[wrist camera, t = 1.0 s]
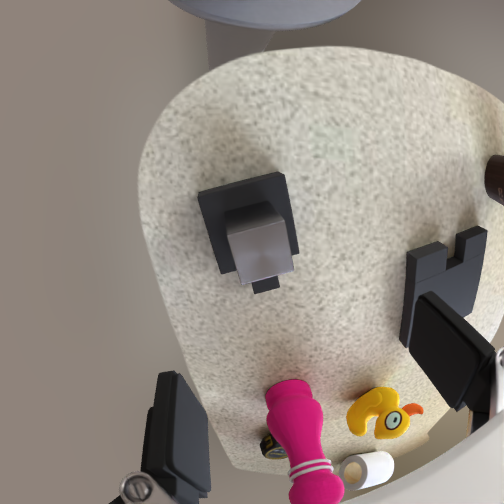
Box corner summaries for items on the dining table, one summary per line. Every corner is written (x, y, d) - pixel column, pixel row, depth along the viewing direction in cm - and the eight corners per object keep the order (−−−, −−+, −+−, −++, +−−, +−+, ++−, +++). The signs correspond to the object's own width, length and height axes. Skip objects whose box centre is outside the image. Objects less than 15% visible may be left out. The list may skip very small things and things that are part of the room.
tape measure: (305, 429, 40) (311, 446, 37) (279, 446, 42) (283, 462, 38) (276, 423, 38) (281, 441, 34) (250, 440, 39) (253, 458, 36)
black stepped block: (198, 192, 23) (191, 216, 16) (279, 171, 23) (306, 186, 16) (228, 289, 27) (234, 341, 20) (298, 270, 27) (324, 315, 20)
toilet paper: (334, 466, 52) (345, 496, 43) (359, 448, 49) (373, 480, 40) (361, 462, 55) (372, 489, 46) (385, 444, 51) (399, 472, 42)
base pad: (406, 251, 28) (416, 259, 26) (478, 225, 28) (487, 230, 26) (398, 339, 34) (405, 348, 32) (464, 306, 34) (471, 312, 32)
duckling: (397, 366, 36) (427, 411, 27) (402, 380, 38) (428, 421, 29) (335, 403, 38) (356, 453, 29) (345, 414, 40) (365, 459, 31)
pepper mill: (262, 380, 33) (295, 526, 14) (316, 372, 33) (369, 505, 15) (260, 410, 36) (286, 533, 17) (308, 403, 36) (348, 518, 18)
